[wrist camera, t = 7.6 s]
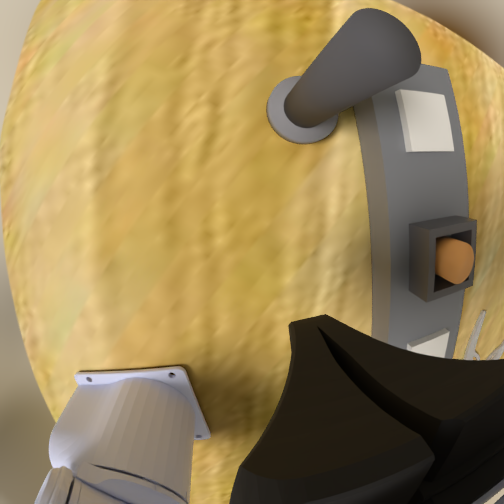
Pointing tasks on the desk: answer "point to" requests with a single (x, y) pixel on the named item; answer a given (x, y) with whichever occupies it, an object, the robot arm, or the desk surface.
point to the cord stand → (344, 75)
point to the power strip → (415, 209)
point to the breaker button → (453, 259)
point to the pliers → (473, 341)
